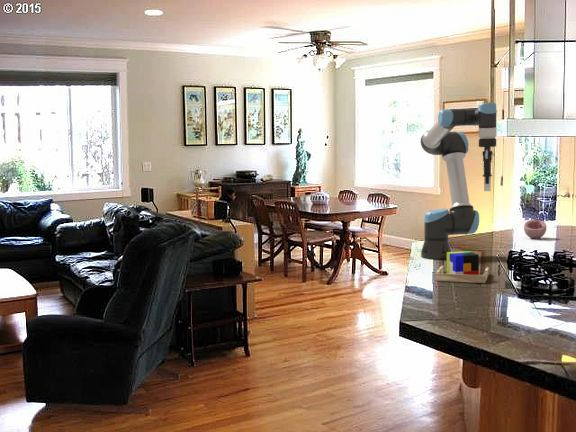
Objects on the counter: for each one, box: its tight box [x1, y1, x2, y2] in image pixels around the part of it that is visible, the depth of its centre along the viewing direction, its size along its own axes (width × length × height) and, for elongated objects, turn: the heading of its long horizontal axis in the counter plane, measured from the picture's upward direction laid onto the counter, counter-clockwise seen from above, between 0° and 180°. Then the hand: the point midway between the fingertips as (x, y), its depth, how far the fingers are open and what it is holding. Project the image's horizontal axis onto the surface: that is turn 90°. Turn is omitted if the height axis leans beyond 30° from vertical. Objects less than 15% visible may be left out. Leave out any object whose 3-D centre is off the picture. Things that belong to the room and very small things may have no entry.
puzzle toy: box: [446, 250, 480, 275], centre depth 279 cm, size 10×10×10 cm
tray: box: [434, 265, 490, 284], centre depth 277 cm, size 18×20×3 cm
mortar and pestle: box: [523, 218, 547, 240], centre depth 375 cm, size 12×12×12 cm
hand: (487, 191), depth 295 cm, fingers closed
